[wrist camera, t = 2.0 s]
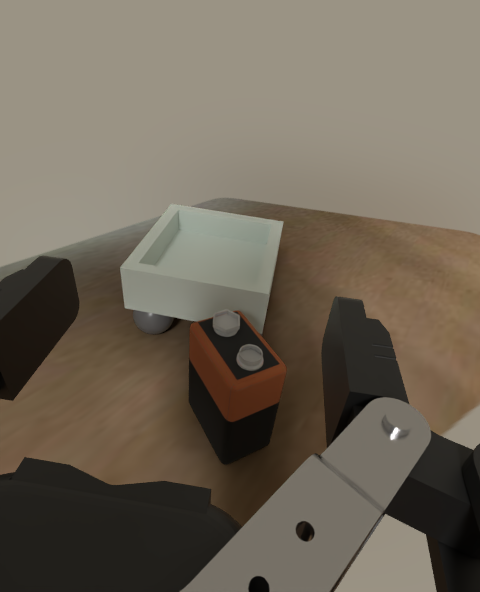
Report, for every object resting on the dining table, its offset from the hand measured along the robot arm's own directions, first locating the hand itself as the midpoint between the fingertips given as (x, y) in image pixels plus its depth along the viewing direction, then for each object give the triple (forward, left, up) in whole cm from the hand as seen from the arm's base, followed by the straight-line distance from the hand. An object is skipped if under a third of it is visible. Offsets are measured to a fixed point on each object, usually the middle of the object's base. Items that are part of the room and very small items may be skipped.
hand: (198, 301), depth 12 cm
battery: (+10, 0, -20) cm, 23 cm away
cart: (+24, +5, -20) cm, 32 cm away
